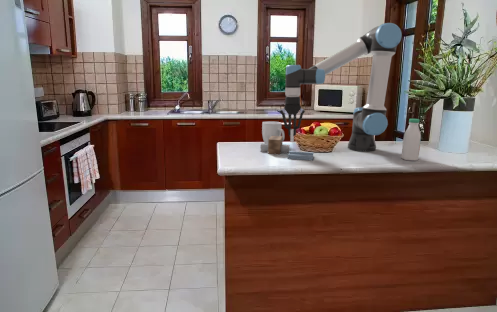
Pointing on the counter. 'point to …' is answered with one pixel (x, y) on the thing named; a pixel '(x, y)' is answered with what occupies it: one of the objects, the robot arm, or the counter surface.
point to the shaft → (283, 149)
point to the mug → (271, 130)
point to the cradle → (300, 155)
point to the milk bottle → (411, 141)
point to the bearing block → (274, 144)
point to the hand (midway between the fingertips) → (292, 141)
